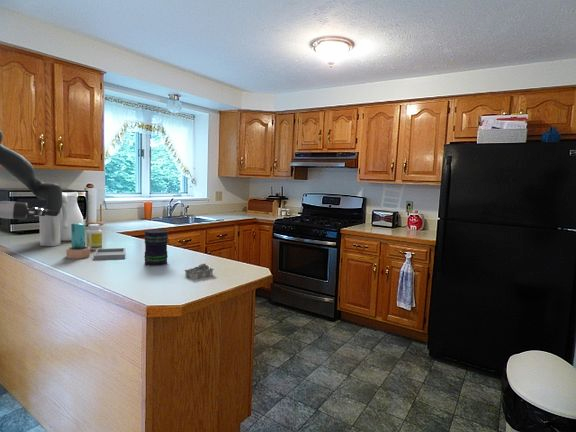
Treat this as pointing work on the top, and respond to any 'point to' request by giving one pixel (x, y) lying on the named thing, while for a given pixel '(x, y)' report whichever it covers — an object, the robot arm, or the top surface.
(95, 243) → the supplement bottle
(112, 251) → the tray
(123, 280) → the top surface
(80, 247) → the bottle
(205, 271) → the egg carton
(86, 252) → the peach octagonal bowl
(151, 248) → the dark blue barrel
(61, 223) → the pitcher
